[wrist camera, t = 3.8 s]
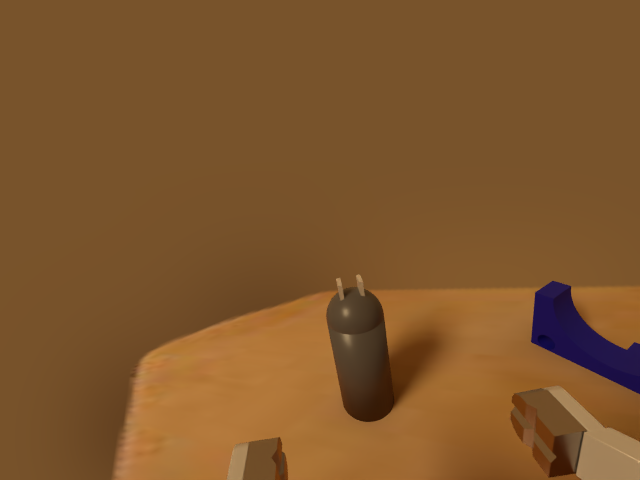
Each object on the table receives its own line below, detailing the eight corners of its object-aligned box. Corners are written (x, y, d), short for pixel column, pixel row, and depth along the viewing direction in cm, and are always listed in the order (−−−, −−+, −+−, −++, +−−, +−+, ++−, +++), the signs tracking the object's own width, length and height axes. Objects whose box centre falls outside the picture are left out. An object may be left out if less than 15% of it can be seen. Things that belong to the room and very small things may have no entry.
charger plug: (385, 374, 30) (371, 262, 25) (400, 416, 25) (386, 289, 21) (339, 383, 30) (318, 272, 25) (347, 426, 25) (322, 301, 21)
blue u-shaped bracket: (742, 400, 22) (770, 333, 20) (722, 436, 20) (751, 366, 18) (555, 324, 32) (561, 275, 30) (531, 343, 30) (535, 292, 28)
